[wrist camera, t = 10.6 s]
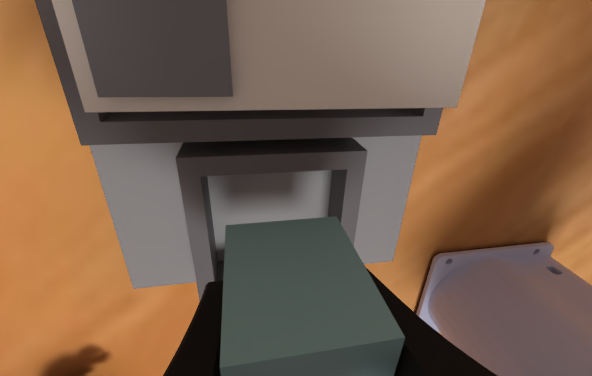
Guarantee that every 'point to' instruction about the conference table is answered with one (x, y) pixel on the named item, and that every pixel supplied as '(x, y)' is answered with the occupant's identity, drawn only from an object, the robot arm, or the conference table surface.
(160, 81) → the beige rectangular block
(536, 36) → the conference table surface
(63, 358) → the conference table surface
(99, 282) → the conference table surface
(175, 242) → the jig
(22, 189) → the conference table surface
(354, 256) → the teal block
